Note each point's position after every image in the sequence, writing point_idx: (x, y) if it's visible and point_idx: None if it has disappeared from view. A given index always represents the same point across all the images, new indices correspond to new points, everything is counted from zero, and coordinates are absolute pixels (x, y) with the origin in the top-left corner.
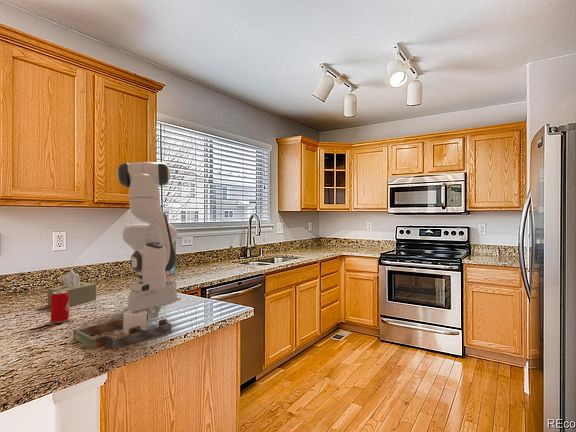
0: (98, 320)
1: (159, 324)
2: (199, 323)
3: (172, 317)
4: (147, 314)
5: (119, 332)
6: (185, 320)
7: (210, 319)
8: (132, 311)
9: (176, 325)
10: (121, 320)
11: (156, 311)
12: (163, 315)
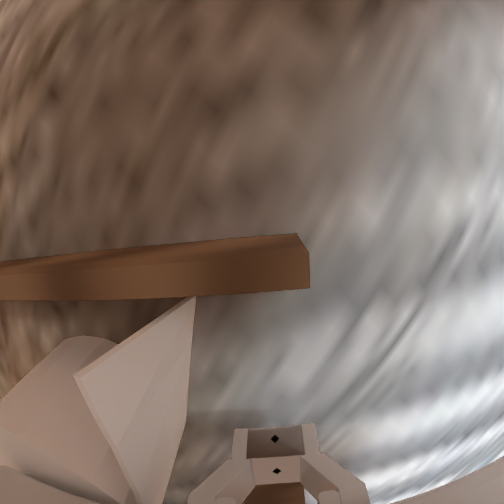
0: (28, 4)
1: (247, 496)
2: (435, 483)
3: (474, 325)
4: (301, 282)
5: (32, 361)
6: (453, 427)
7: (495, 452)
8: (30, 470)
9: (357, 475)
10: (10, 296)
11: (309, 481)
12: (476, 216)
